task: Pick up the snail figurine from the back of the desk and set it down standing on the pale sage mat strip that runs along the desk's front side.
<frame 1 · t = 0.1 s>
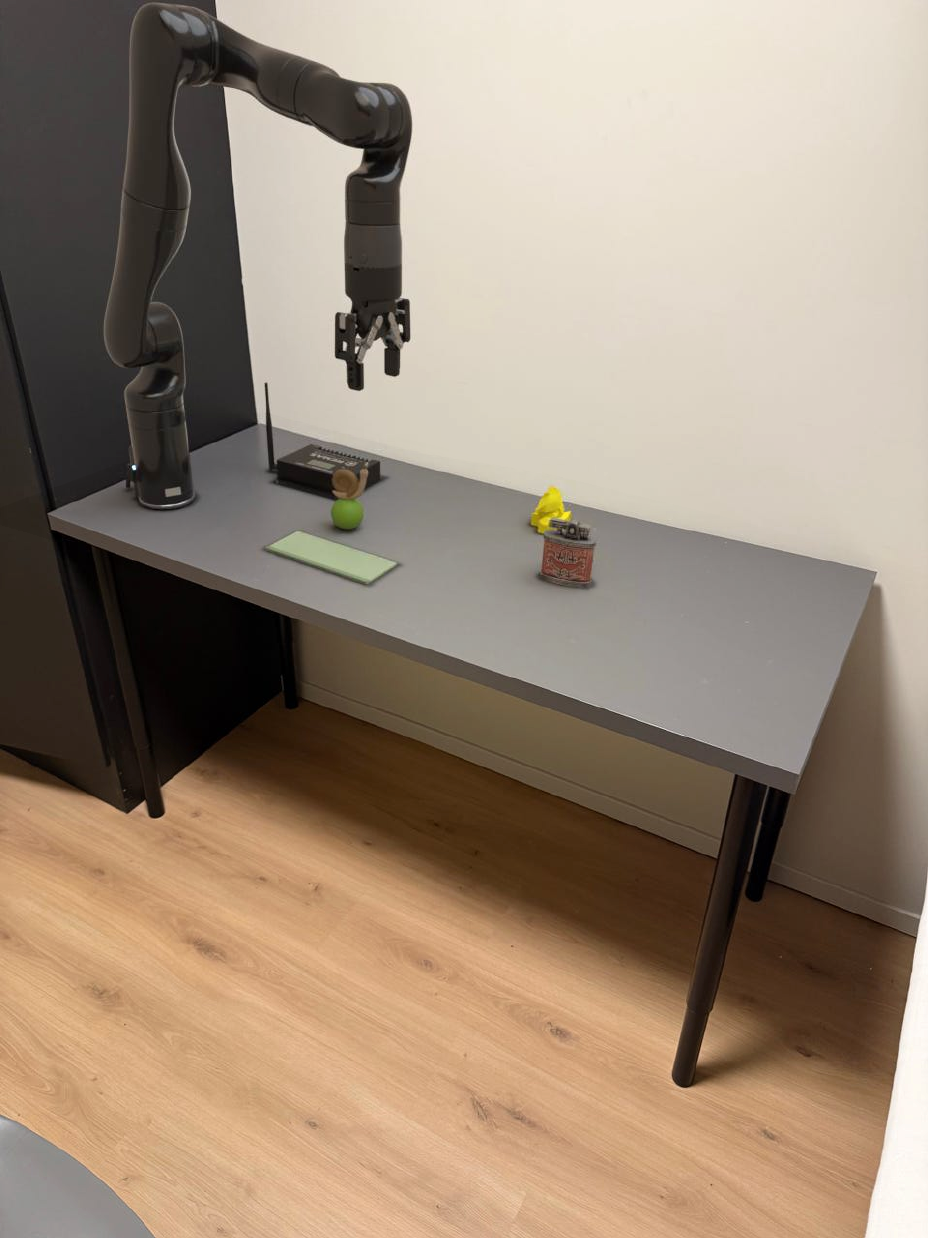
hand: (374, 382, 128), 29 cm above the table, tool pointing down, fingers open, 8 cm apart
wireless controller: (320, 478, 174), on the table
snail figurine: (350, 529, 155), on the table
lighter: (565, 581, 142), on the table
front mat: (330, 557, 146), on the table
crumpled paper: (550, 525, 160), on the table
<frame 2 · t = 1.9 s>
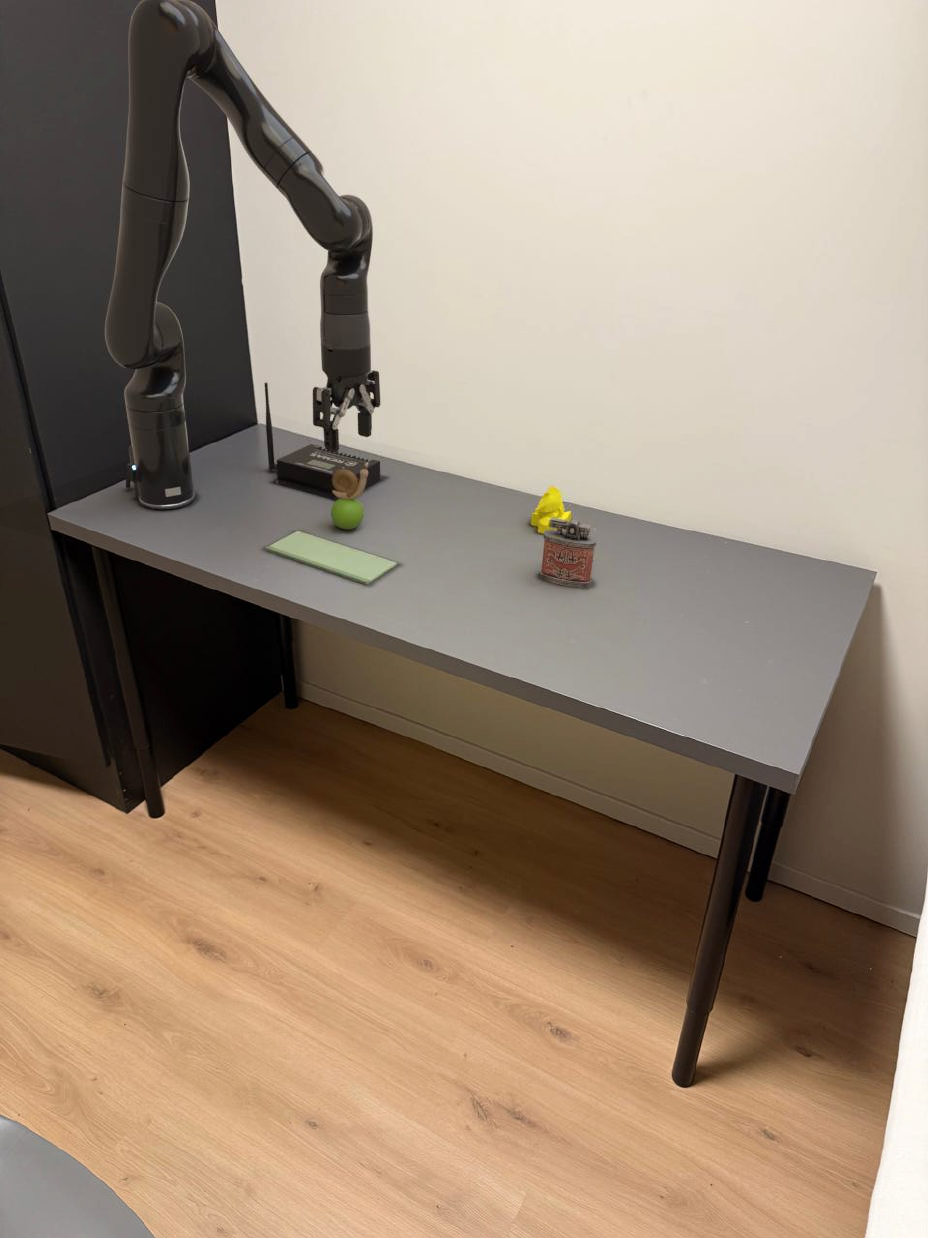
hand: (348, 443, 147), 15 cm above the table, tool pointing down, fingers open, 8 cm apart
nothing on the table moved.
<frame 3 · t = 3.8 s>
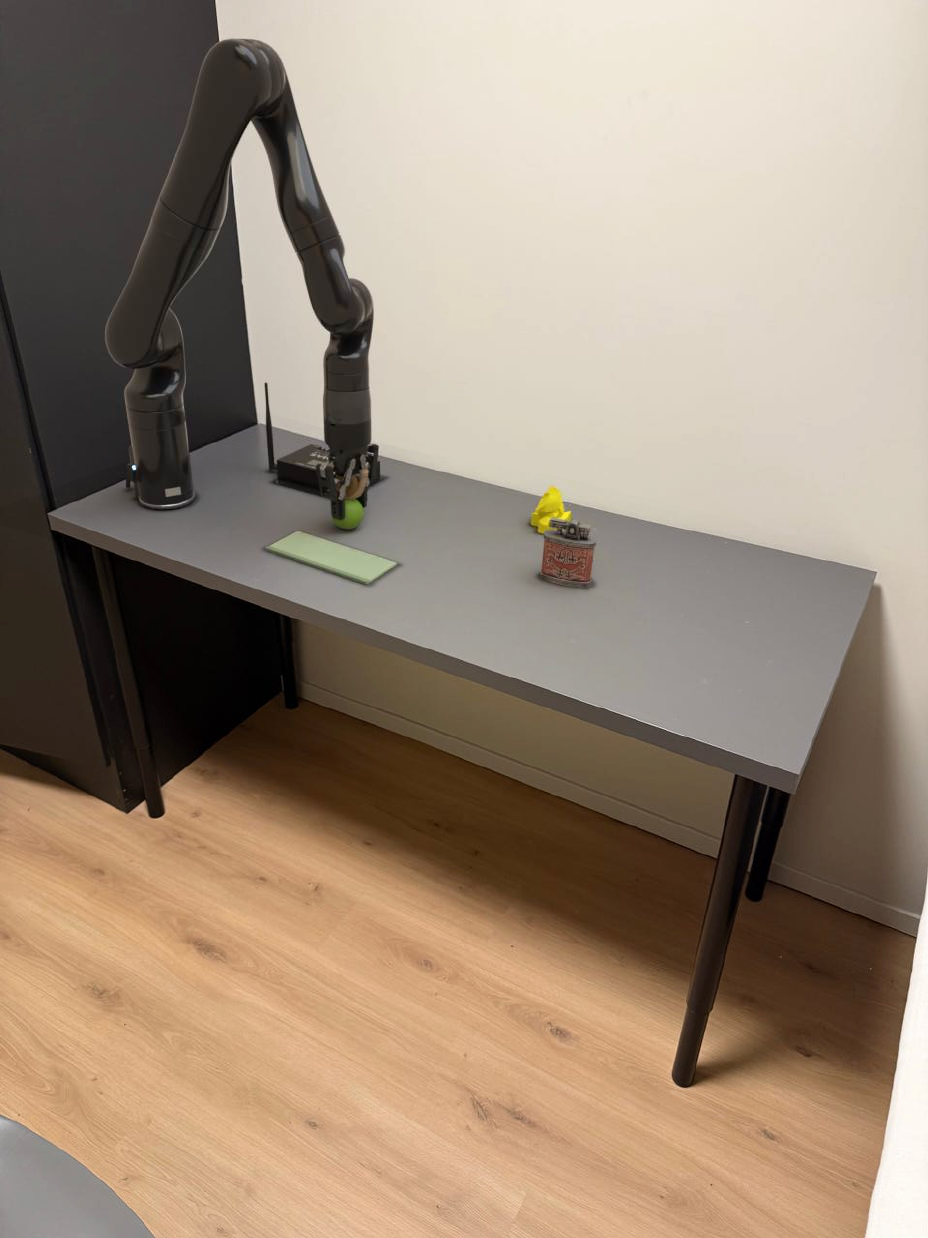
hand: (349, 512, 153), 3 cm above the table, tool pointing down, fingers closed on snail figurine, 5 cm apart
snail figurine: (350, 529, 155), on the table, touching gripper
everything else where it was.
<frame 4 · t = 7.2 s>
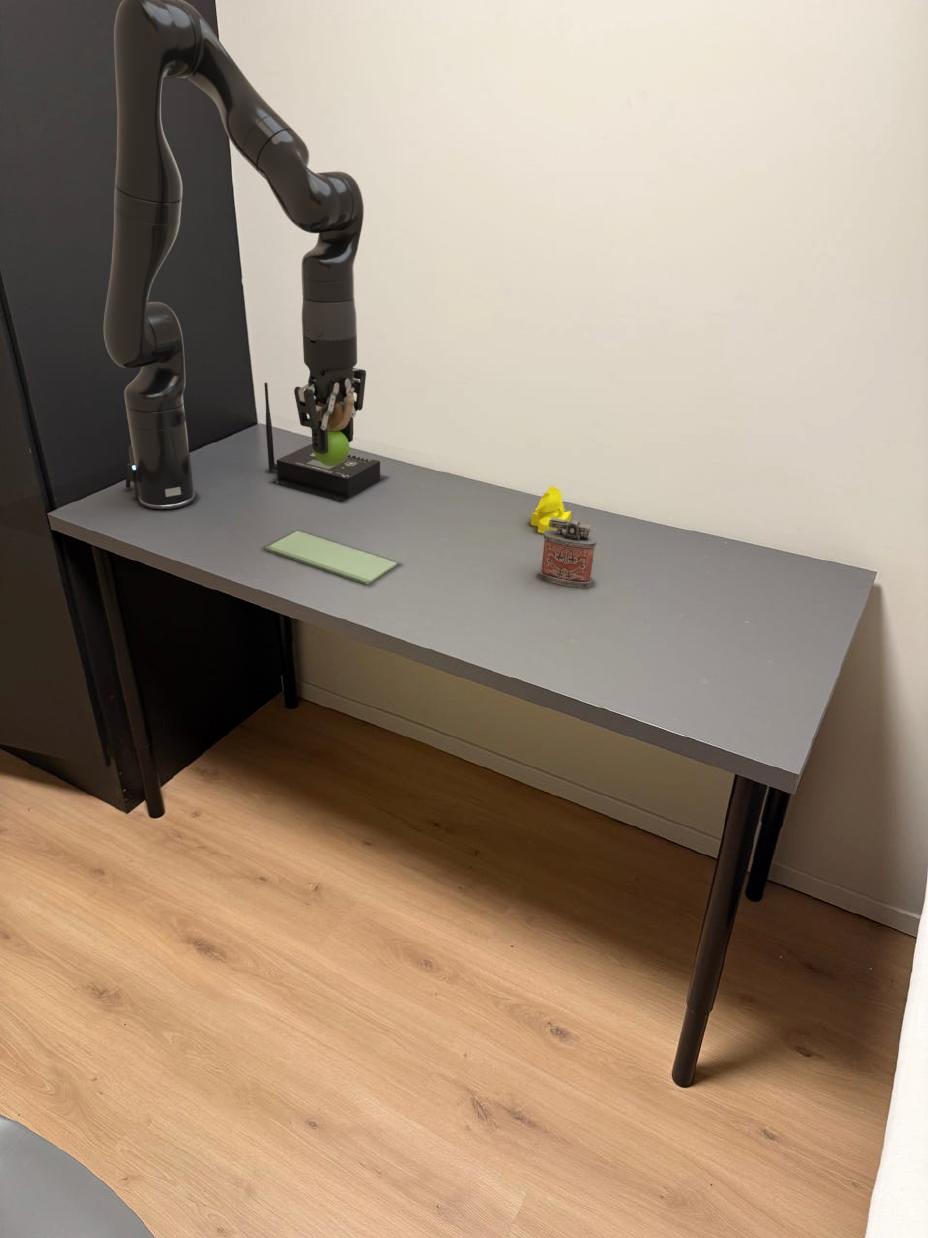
hand: (333, 446, 137), 18 cm above the table, tool pointing down, fingers closed on snail figurine, 5 cm apart
snail figurine: (335, 466, 138), point 15 cm above the table, touching gripper
everything else where it was.
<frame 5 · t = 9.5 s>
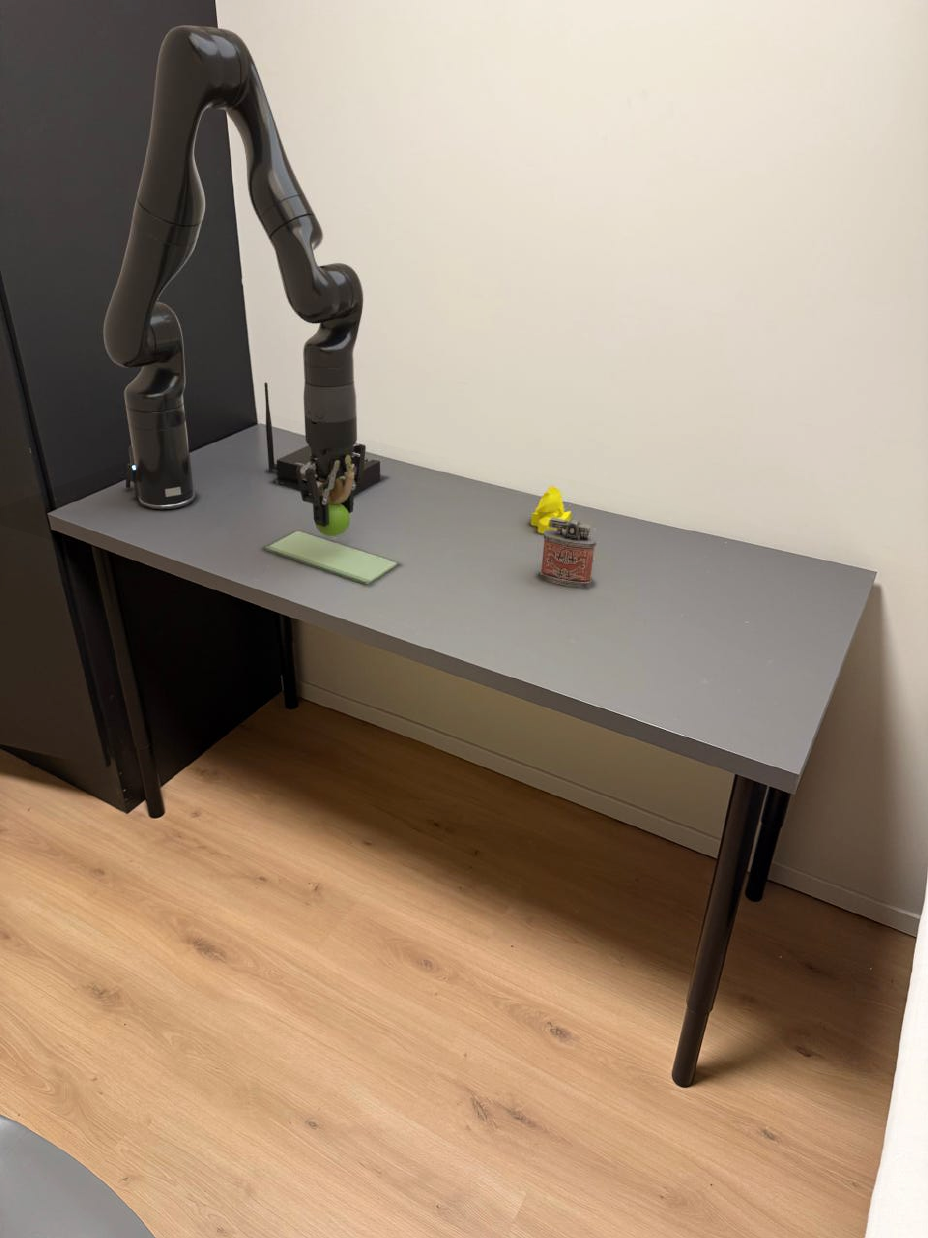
hand: (334, 517, 142), 7 cm above the table, tool pointing down, fingers closed on snail figurine, 5 cm apart
snail figurine: (335, 536, 143), point 4 cm above the table, touching gripper
everything else where it was.
when the fingers open (3 cm above the table, at t = 11.0 s): snail figurine stays where it is, resting on front mat.
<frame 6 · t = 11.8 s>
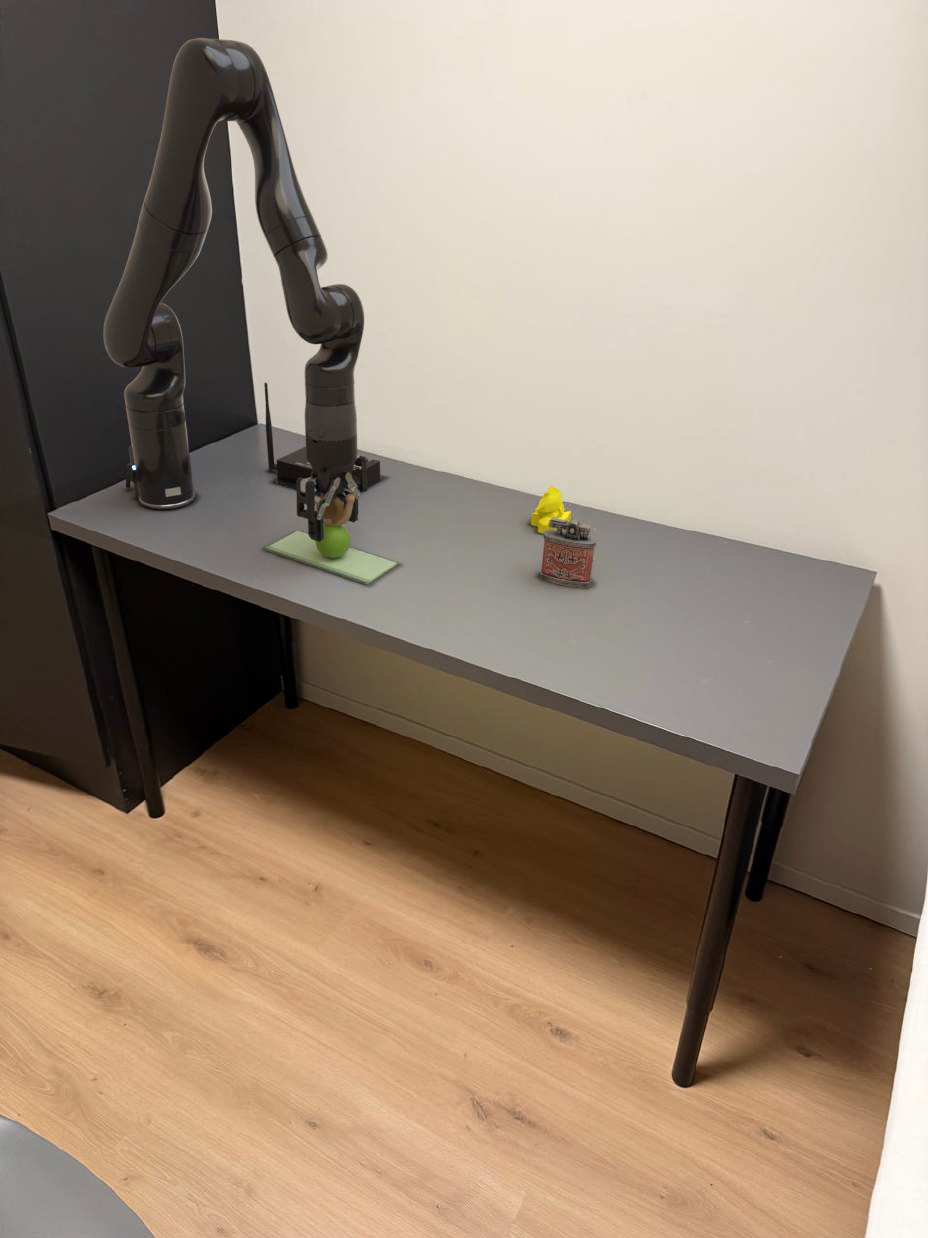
hand: (334, 529, 143), 5 cm above the table, tool pointing down, fingers open, 8 cm apart
snail figurine: (336, 557, 145), resting on front mat
everything else where it was.
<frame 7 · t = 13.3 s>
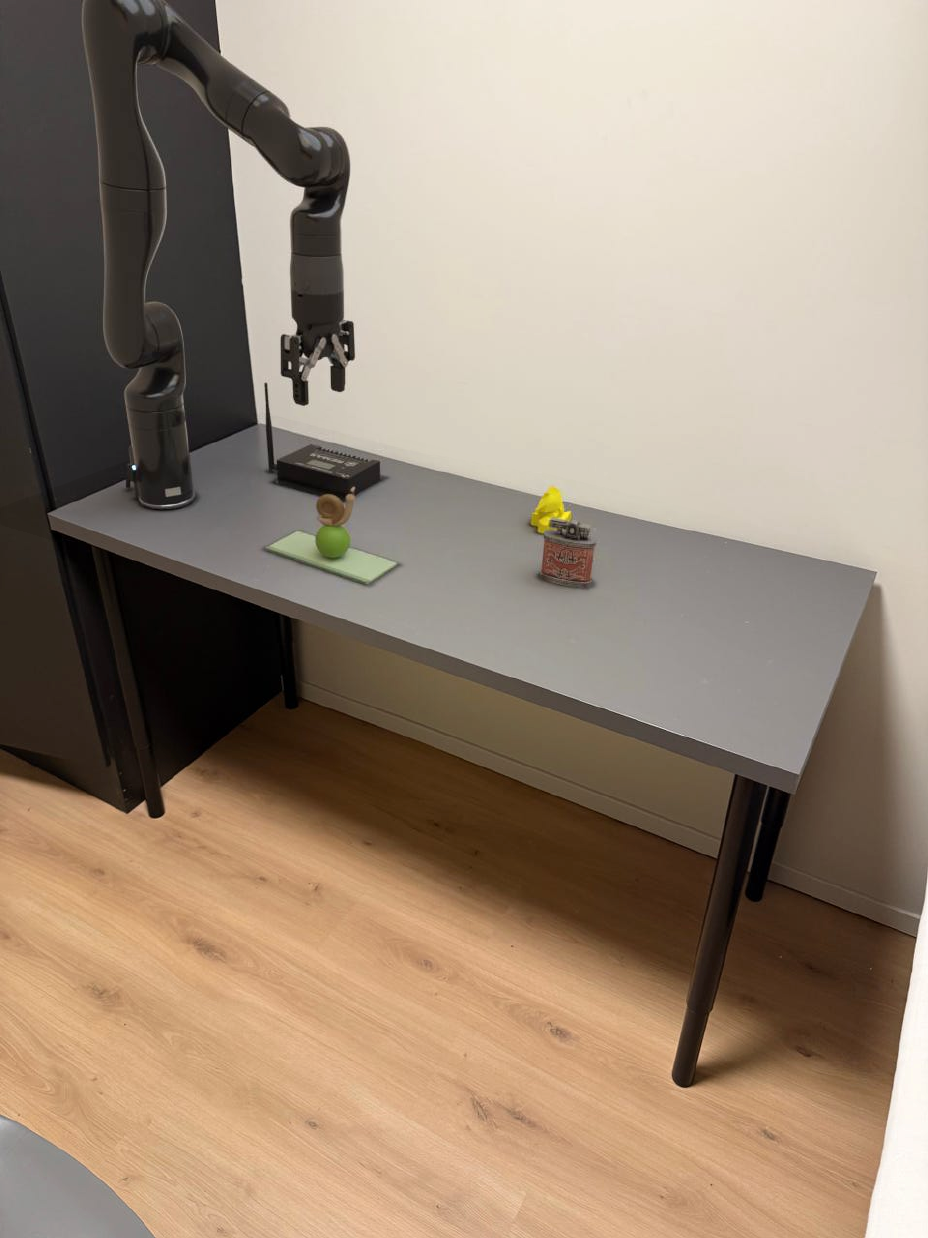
hand: (319, 397, 139), 24 cm above the table, tool pointing down, fingers open, 8 cm apart
nothing on the table moved.
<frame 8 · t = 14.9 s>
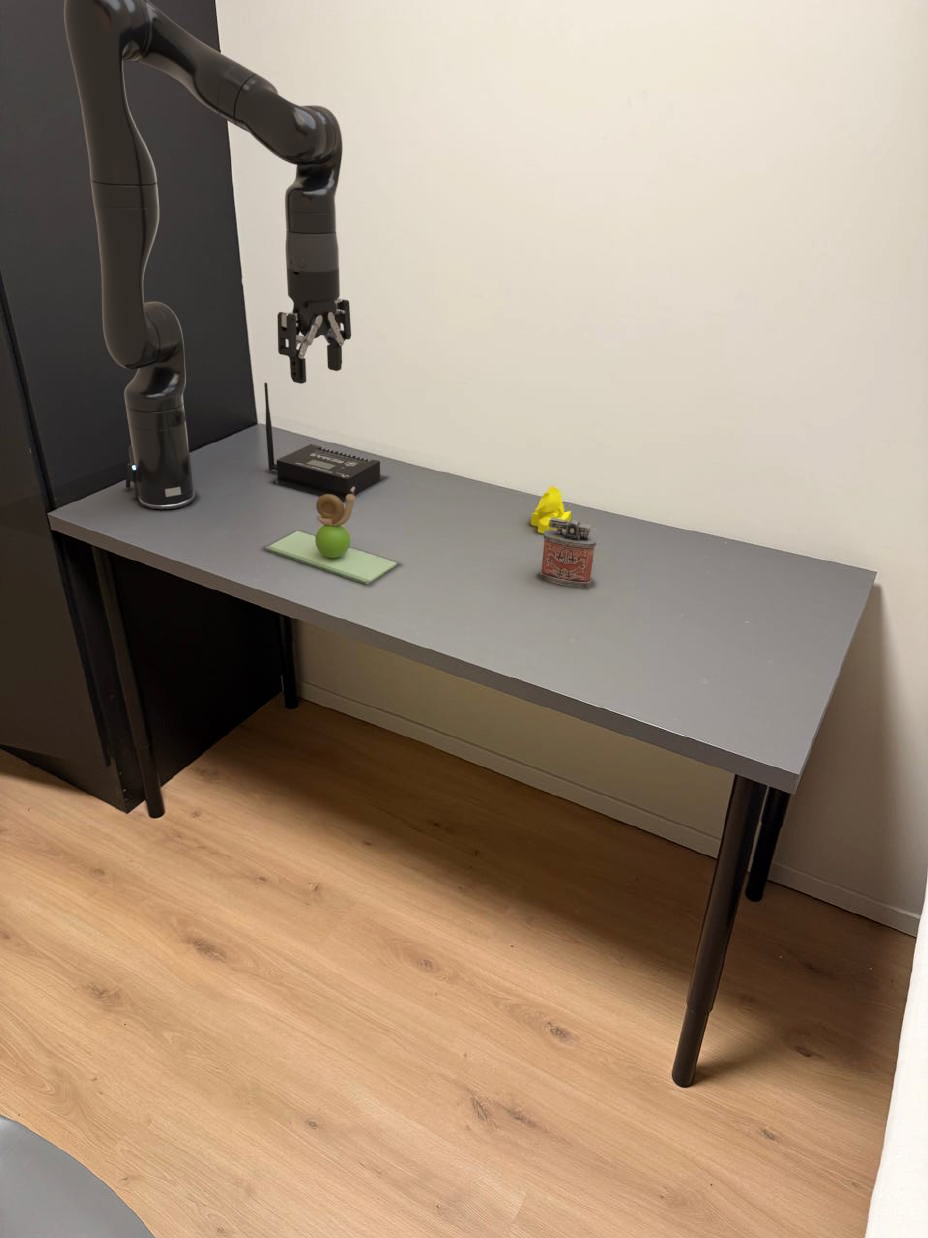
hand: (317, 375, 141), 26 cm above the table, tool pointing down, fingers open, 8 cm apart
nothing on the table moved.
at the end: snail figurine inside the target area (1.0 cm from its centre), resting on front mat; snail figurine tilted 0°; the gripper is holding nothing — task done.
